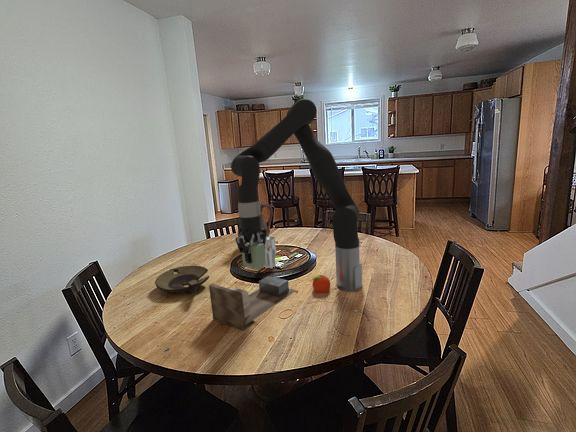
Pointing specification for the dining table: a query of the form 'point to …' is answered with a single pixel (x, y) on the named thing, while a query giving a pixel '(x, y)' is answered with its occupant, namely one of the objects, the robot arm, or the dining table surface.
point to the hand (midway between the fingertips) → (254, 260)
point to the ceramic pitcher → (262, 221)
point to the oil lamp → (182, 279)
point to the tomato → (321, 283)
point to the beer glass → (270, 252)
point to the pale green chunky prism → (256, 256)
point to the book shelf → (240, 305)
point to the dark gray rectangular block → (274, 286)
